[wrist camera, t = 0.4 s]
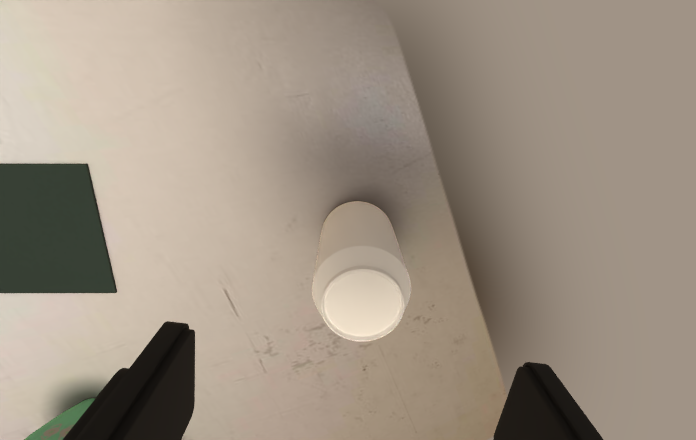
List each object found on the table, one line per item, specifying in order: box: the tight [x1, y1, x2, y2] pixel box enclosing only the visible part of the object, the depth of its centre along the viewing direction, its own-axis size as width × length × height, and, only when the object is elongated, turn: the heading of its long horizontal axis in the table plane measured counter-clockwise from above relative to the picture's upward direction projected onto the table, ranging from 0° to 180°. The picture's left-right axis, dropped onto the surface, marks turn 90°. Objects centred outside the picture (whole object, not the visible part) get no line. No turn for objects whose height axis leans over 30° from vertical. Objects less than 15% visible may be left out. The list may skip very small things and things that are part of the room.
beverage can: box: [312, 201, 411, 342], centre depth 28 cm, size 6×6×12 cm
